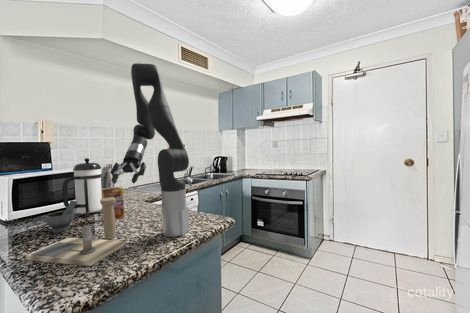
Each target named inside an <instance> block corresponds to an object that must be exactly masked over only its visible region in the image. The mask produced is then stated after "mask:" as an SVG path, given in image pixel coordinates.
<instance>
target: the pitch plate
mask: <svg viewBox="0 0 470 313" xmlns="http://www.w3.org/2000/svg"><path fill="white" fill-rule="evenodd" d="M123 246H125V241H124V240H116V239H100V238H99V239H96V238H92V225H84V226H82V227H81V237H80V238H79V237H66V238H64V239H62V240H59V241H57V242H54V243H52V244H49V245H47V246H44V247H43V248H40V249H38V250H35V251H33V252H31V253H28V254H25V261H30V262H31V261H32V262H41V263H53V264H65V265H74V266H75V265H77V266H78V265H79V266H87V267H92V266H94V265H95V264H96V263H98V262H99V261H101V260H103V259H104V258H106V257H108V256H109V255H112V254H113V253H114V252H116V251H117V250H119V249H120V248H122V247H123Z"/></svg>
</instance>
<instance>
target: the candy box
mask: <svg viewBox="0 0 470 313" xmlns="http://www.w3.org/2000/svg"><path fill="white" fill-rule="evenodd" d="M110 197H112V198H116V202H115V203H114V204H113V208H114V216H115V220H117V219H124V218H125V205H124V188H123V186H116V187H106V188H105V187H104V188H103V187H102V198H110ZM102 210H103V211H102V214H103V215H102V216H103V220H104V207H103V208H102Z"/></svg>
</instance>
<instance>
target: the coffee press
mask: <svg viewBox="0 0 470 313" xmlns="http://www.w3.org/2000/svg"><path fill="white" fill-rule="evenodd" d="M72 171H73V176H70V177H67V178H66V179H64V180H63V183H62V187H61V188H62V201H63V206H64V207H65V208H67V207H68V205H69V204H70V202H69V196H68V195H69V193H68V185H69V183H70V182H72V181H73V185H74V199H75V200H74V201H76V202H77V204H76V205H75V207H74V209H75V211H74V217H75V216H77V214H85V215H84V216H85V218H90V214H92V213H97V212H103V205H101V203H100V200H101V199H103V198H102V188H103V178H102V171H103V170H102V166H101V164H99V163H97V162H90V158H87V157H86V158H84V162H83V163H76V164H75V165H74V167H73V168H72ZM76 212H77V214H75V213H76Z"/></svg>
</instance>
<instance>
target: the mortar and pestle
mask: <svg viewBox="0 0 470 313" xmlns="http://www.w3.org/2000/svg"><path fill="white" fill-rule="evenodd" d="M76 204H77V202H76V201H75V200H74V199H73V200H70V201H69V205H68V207H67V208H66V207H65V208H66V209H65V210H62V211H58V212H57V211H55V212H53V213H49V214H47V215H45V216H44V220H45V223H46V225H47V226H48V227H50V228H51V233H60V232H64V231H67V230H69V229H71V223H72V222H73V220H74V219H75V216H74V213H75V211H74V209H75V208H74V207H75V205H76Z"/></svg>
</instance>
